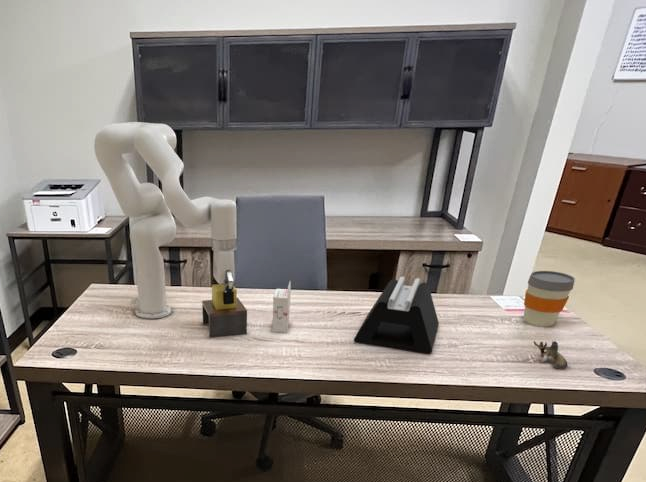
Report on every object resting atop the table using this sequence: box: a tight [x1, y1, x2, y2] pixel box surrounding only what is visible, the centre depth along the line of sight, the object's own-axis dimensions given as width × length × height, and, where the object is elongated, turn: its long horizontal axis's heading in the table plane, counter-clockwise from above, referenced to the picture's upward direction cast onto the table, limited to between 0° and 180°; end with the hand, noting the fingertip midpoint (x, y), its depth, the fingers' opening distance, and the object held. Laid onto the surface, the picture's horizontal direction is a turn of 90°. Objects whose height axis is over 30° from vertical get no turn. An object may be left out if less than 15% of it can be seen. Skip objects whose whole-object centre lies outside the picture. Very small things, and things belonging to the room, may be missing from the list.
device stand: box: [353, 276, 440, 355], centre depth 163 cm, size 22×22×15 cm
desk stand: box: [201, 297, 248, 339], centre depth 171 cm, size 12×12×8 cm
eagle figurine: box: [533, 339, 568, 370], centre depth 147 cm, size 8×7×9 cm
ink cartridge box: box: [271, 280, 292, 333], centre depth 169 cm, size 9×5×15 cm, turn 168°
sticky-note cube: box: [211, 283, 238, 310], centre depth 167 cm, size 6×6×6 cm
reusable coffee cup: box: [523, 270, 576, 328], centre depth 170 cm, size 13×13×15 cm
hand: (225, 298), depth 168 cm, fingers open, 9 cm apart
